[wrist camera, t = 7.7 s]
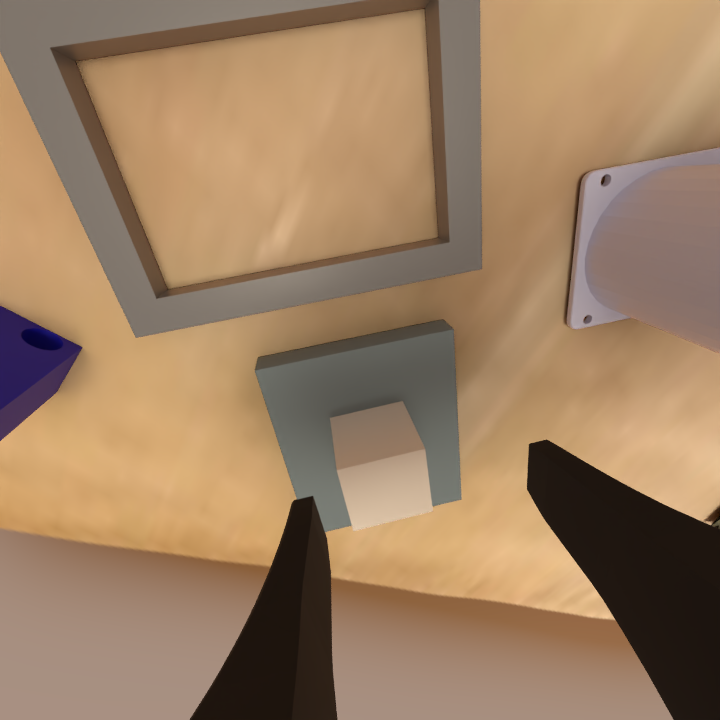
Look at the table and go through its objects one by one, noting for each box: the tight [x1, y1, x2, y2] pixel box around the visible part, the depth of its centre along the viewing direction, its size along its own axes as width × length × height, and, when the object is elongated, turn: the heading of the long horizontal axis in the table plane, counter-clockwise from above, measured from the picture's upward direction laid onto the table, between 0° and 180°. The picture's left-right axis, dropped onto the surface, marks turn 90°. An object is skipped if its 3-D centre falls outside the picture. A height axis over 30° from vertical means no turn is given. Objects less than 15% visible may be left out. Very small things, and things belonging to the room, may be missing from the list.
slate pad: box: [255, 320, 461, 532], centre depth 21 cm, size 10×12×2 cm
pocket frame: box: [0, 0, 482, 338], centre depth 15 cm, size 16×12×2 cm
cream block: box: [330, 401, 433, 531], centre depth 19 cm, size 4×4×4 cm
